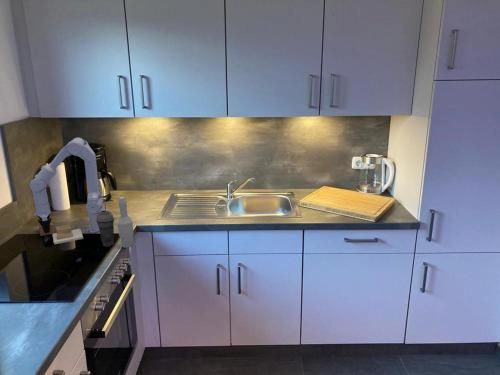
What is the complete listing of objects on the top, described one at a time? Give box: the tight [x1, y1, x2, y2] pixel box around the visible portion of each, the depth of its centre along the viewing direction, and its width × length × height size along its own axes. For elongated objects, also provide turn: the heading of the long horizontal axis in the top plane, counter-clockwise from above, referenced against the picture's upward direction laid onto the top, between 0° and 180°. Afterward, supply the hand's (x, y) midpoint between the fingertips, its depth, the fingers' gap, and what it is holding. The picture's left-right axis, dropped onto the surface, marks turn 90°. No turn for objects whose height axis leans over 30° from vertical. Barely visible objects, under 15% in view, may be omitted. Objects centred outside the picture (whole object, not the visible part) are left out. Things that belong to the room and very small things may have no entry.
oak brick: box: [55, 224, 72, 239], centre depth 186 cm, size 4×6×4 cm, turn 119°
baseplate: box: [51, 228, 84, 245], centre depth 188 cm, size 12×11×1 cm
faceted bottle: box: [117, 196, 134, 249], centre depth 174 cm, size 6×6×22 cm
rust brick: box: [38, 221, 55, 237], centre depth 193 cm, size 4×6×4 cm, turn 119°
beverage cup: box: [96, 200, 115, 247], centre depth 176 cm, size 7×7×20 cm
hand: (46, 230), depth 193 cm, fingers open, 6 cm apart
